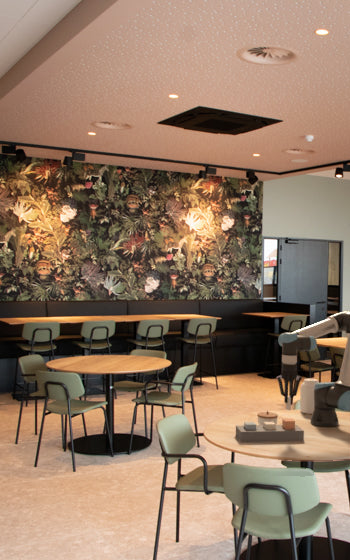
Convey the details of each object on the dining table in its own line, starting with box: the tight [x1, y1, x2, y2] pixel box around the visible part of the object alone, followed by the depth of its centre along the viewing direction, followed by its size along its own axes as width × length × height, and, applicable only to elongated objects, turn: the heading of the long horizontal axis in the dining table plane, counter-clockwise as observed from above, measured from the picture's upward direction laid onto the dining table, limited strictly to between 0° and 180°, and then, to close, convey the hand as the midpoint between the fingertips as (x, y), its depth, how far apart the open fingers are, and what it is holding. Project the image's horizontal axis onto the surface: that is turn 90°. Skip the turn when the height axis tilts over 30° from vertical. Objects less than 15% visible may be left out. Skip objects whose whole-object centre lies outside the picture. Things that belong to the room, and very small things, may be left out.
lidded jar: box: [257, 410, 279, 425], centre depth 314 cm, size 11×11×9 cm
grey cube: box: [243, 421, 257, 430], centre depth 295 cm, size 5×5×5 cm
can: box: [299, 377, 319, 415], centre depth 354 cm, size 12×12×20 cm
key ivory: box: [263, 422, 277, 430], centre depth 296 cm, size 5×5×5 cm
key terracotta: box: [281, 418, 296, 429], centre depth 297 cm, size 5×5×5 cm
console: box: [235, 424, 305, 443], centre depth 296 cm, size 32×12×5 cm, turn 97°
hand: (288, 409), depth 297 cm, fingers closed
